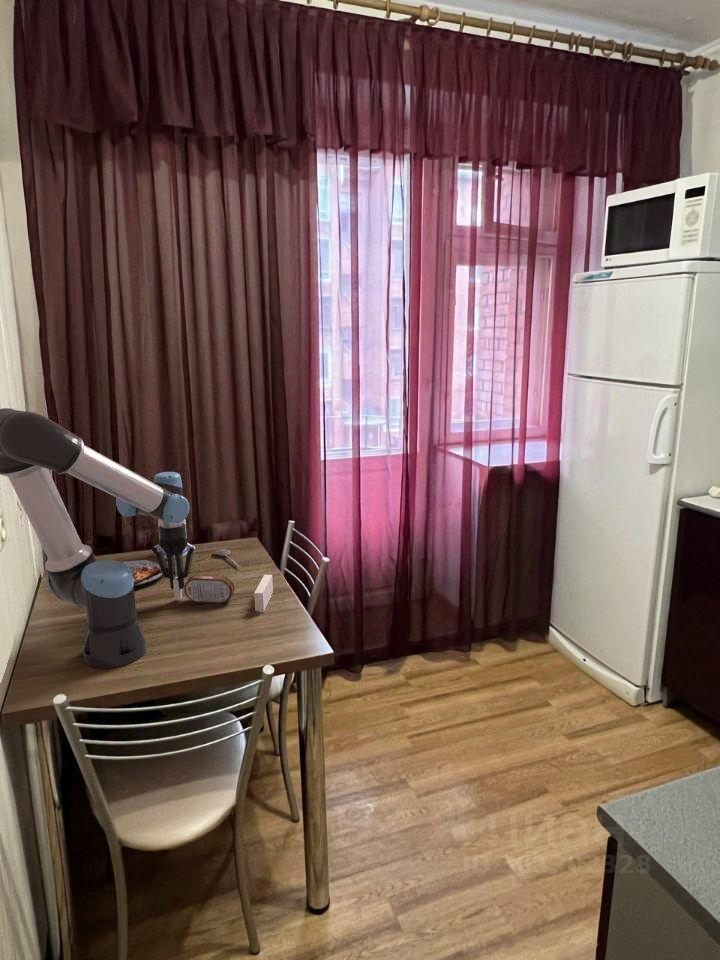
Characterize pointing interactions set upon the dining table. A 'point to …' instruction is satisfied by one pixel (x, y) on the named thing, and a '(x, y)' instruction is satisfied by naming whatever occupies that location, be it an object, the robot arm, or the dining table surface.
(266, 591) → the board
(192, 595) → the tin
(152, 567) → the food plate
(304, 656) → the dining table surface
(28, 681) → the dining table surface
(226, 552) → the soupspoon
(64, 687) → the dining table surface
